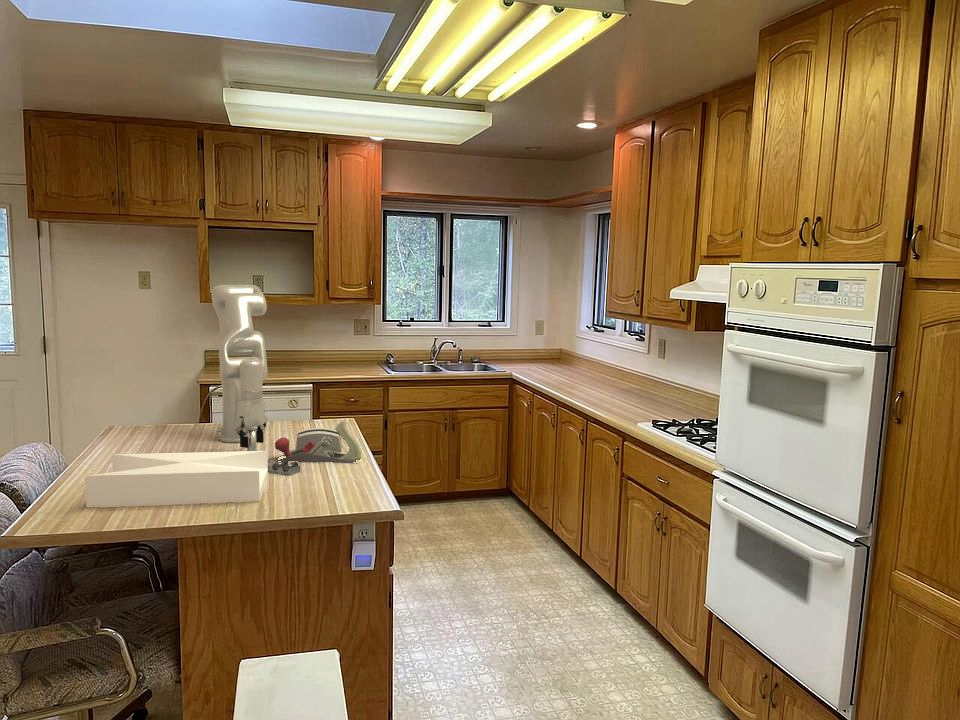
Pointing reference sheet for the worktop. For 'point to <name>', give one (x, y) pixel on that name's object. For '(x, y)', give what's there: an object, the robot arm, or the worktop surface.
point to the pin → (252, 439)
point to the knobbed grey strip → (283, 467)
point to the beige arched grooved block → (318, 438)
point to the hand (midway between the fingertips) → (251, 444)
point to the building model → (179, 479)
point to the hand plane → (322, 449)
